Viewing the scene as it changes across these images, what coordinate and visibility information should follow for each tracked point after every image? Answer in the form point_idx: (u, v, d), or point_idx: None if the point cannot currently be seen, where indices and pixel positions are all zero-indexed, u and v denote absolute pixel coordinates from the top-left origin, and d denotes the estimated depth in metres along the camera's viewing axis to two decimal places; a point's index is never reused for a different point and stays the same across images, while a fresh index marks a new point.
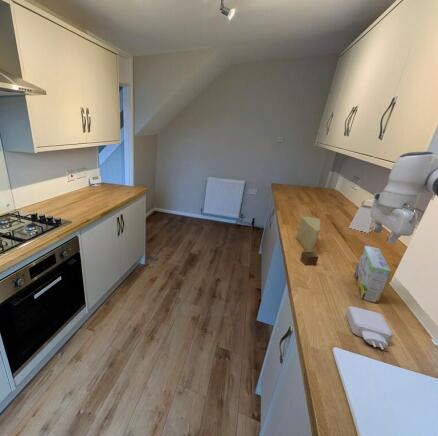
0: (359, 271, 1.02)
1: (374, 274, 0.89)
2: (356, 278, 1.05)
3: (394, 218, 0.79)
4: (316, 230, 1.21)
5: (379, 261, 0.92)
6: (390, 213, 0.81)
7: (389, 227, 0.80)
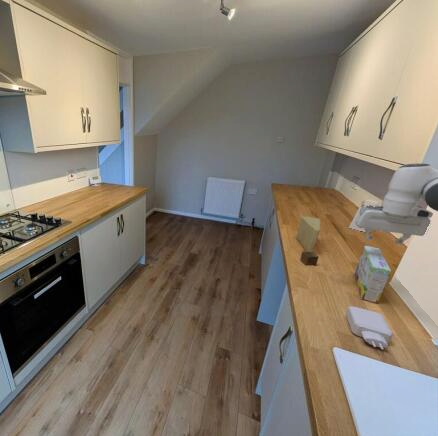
0: (359, 271, 1.02)
1: (374, 274, 0.89)
2: (356, 278, 1.05)
3: None
4: (316, 230, 1.21)
5: (379, 261, 0.92)
6: None
7: None
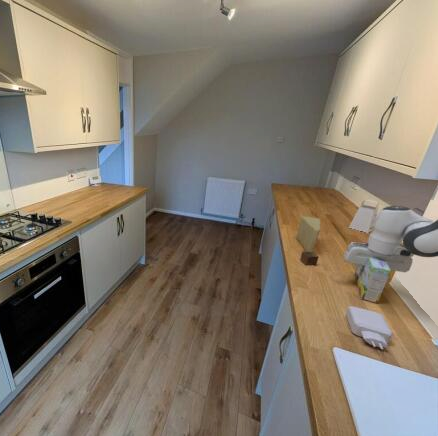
0: None
1: (374, 274, 0.89)
2: (356, 278, 1.05)
3: None
4: (316, 230, 1.21)
5: (379, 261, 0.92)
6: None
7: None
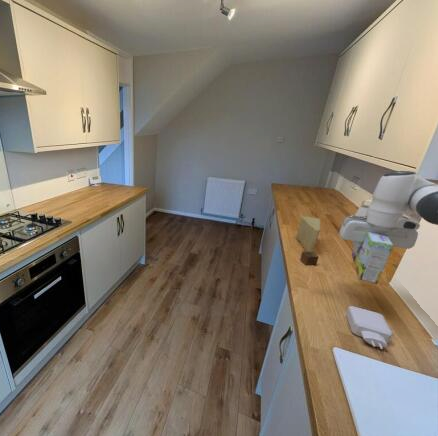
0: None
1: (373, 249, 0.77)
2: (353, 258, 0.93)
3: None
4: (316, 230, 1.21)
5: (379, 235, 0.80)
6: None
7: None
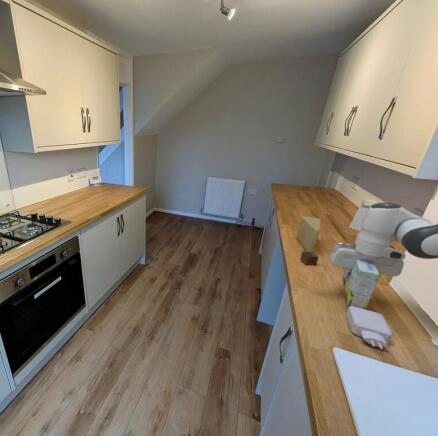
0: None
1: (361, 278, 0.80)
2: (343, 282, 0.96)
3: None
4: (316, 230, 1.21)
5: (367, 264, 0.83)
6: None
7: None
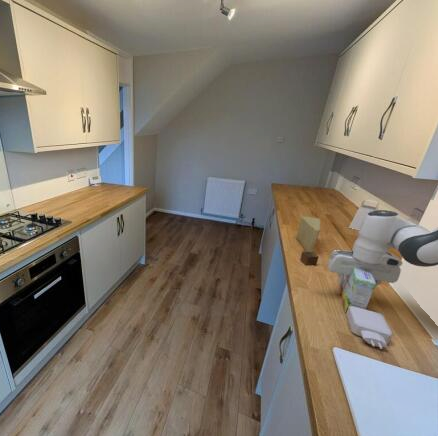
0: (344, 282, 0.94)
1: (358, 287, 0.81)
2: (341, 289, 0.97)
3: None
4: (316, 230, 1.21)
5: (364, 272, 0.84)
6: None
7: None
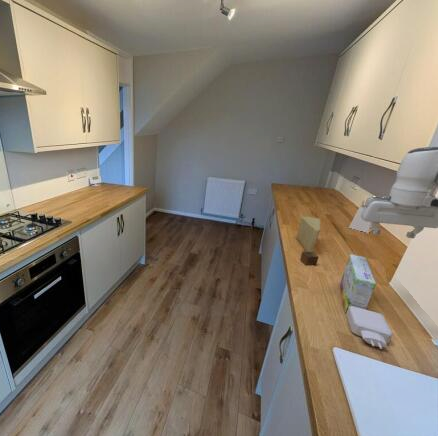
0: (344, 282, 0.94)
1: (358, 287, 0.81)
2: (341, 289, 0.97)
3: None
4: (316, 230, 1.21)
5: (364, 272, 0.84)
6: None
7: None
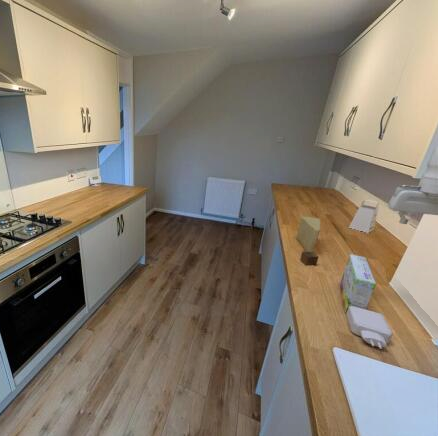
0: (344, 282, 0.94)
1: (358, 287, 0.81)
2: (341, 289, 0.97)
3: None
4: (316, 230, 1.21)
5: (364, 272, 0.84)
6: None
7: None
